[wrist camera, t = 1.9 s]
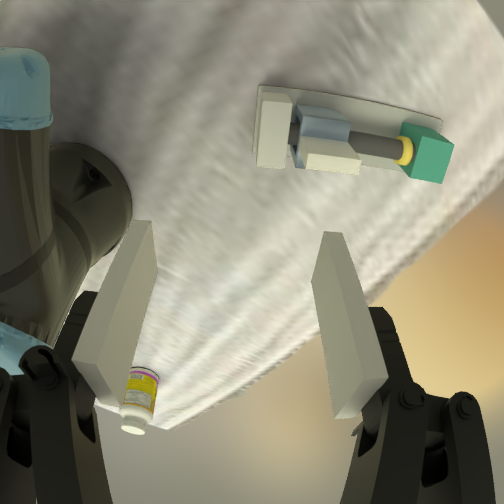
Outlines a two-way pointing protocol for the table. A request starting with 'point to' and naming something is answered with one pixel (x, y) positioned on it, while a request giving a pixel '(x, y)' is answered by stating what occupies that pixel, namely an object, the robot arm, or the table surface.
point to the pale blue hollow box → (324, 141)
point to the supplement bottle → (139, 400)
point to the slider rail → (354, 132)
